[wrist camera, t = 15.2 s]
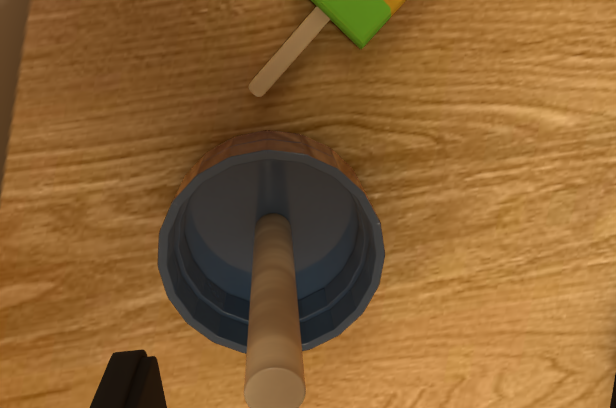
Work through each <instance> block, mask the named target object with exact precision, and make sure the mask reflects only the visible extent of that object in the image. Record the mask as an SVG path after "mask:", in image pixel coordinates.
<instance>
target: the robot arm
mask: <svg viewBox="0 0 616 408" xmlns="http://www.w3.org/2000/svg"><path fill="white" fill-rule="evenodd" d="M90 408H167V406H166V401H165V396H164V391H163V386H162V381H161V376H160V371H159V367H158V362H157V359H156V357H155V356H151V357H147V354H146V352H145V350H134V351H124V352H115V353H113V354H112V356H111V358H110V361H109V363H108V365H107V368H106V370H105V372H104V375H103V377H102V380H101V382H100V384H99V387H98V389H97V391H96V394H95V396H94V399H93V401H92V403H91V406H90ZM610 408H616V375H615V381H614V387H613V393H612V399H611V405H610Z"/></svg>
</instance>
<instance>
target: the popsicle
mask: <svg viewBox="0 0 616 408" xmlns="http://www.w3.org/2000/svg"><path fill="white" fill-rule="evenodd" d="M311 1H312V2H313V3H314V4H315V5H316V7H315V8H314V10H313V11H312V12H311V13H310V14H309V15H308V16H307V18H306V19H305V20H304V21H303V22H302V23H301V25H300V26H299V27H298V28H297V29H296V30H295V31H294V33H293V34H292V35H291V36H290V37H289V38H288V39H287V41H286V42H285V43H284V44H283V45H282V46H281V48H280V49H279V50H278V51H277V52H276V53H275V54H274V56H273V57H272V58H271V59H270V60H269V61H268V62H267V64H266V65H265V66H264V67H263V68H262V69H261V71H260V72H259V73H258V74H257V75H256V76H255V77H254V79H253V80H252V81H251V82H250V84H249V90H250V92H251V93H252V94H253V95H255V96H257V97H261V96H263V95H264V94H265V93H266V92H267V90H268V89H269V88H270V87H271V86H272V85H273V84H274V83H275V81H276V80H277V79H278V78H279V77H280V76H281V75H282V73H283V72H284V71H285V70H286V69H287V68H288V67H289V66H290V64H291V63H292V62H293V61H294V60H295V59H296V58H297V56H298V55H299V54H300V53H301V52H302V51H303V50H304V49H305V47H306V46H307V45H308V44H309V43H310V42H311V41H312V39H313V38H314V37H315V36H316V35H317V34H318V33H319V32H320V30H321V29H322V28H323V27H324V26H325V25H326V24H327V22H328V21H329V20H331V21H332V22H333V23H334V24H335V25H336V26H337V27H338V28H339V29H340V30H341V31H342V32H343V33H344V34H345V35H346V36H347V37H348V38H349V39H350V40H351V41H352V42H354V43H355V44H356V45H357V46H358V47H359V48H360V49H362V48H363V47H364V46H365V45H366V44H367V43H368V42H369V41H370V40H371V39H372V37H373V36H374V35H375V34H376V33H377V32H378V31H379V30H380V29H381V28H382V26H383V25H384V24H385V23H386V22H387V21H388V20H389V19H390V18H391V17H392V15H393V14H394V13H395V12H396V11H397V10H398V9H399V8H400V7H401V6H402V5H403V3H404V2H405V1H406V0H311Z"/></svg>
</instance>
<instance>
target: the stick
mask: <svg viewBox="0 0 616 408" xmlns="http://www.w3.org/2000/svg"><path fill="white" fill-rule="evenodd" d="M305 393H306V389H305V378H304V367H303V355H302V344H301V333H300V322H299V311H298V300H297V289H296V278H295V267H294V256H293V245H292V234H291V226H290V223H289V222H288V220H287V219H286V218H285V217H283V216H282V215H279V214H274V213H273V214H267V215H264V216H263V217H261V218H260V219H259V220H258V222H257V223H256V226H255V236H254V251H253V265H252V280H251V295H250V310H249V325H248V339H247V354H246V369H245V384H244V397H245V401H246V403H247V404H248V406H249V407H250V408H299V407H300V405H301V404H302V402H303V400H304V398H305Z"/></svg>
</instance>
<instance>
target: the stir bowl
mask: <svg viewBox="0 0 616 408" xmlns="http://www.w3.org/2000/svg"><path fill="white" fill-rule="evenodd" d="M273 213H274V214H279V215H282V216H283V217H285V218H286V219H287V220H288V222H289V223H290V226H291V234H292V245H293V256H294V267H295V278H296V289H297V300H298V311H299V322H300V333H301V344H302V351H305V350H310V349H312V348H314V347H316V346H318V345H320V344H322V343H324V342H326V341H328V340H330V339H332V338H334V337H336V336H338V335H339V334H341V333H342V332H343V331H344V330H345V329H346V328H348V327H349V326H350V325H351V324H352V323H353V322H354V321H355V320H356V319H357V318H358V317H359V316H361V315H362V314H363V312H364V311H365V309H366V307H367V306H368V304H369V302H370V300H371V299H372V297H373V295H374V293H375V292H376V290H377V288H378V286H379V284H380V278H381V273H382V268H383V263H384V258H385V249H384V242H383V236H382V229H381V223H380V220H379V218H378V216H377V214H376V212H375V210H374V208H373V206H372V204H371V202H370V200H369V198H368V196H367V194H366V192H365V190H364V188H363V187H362V185H361V183H360V181H359V179H358V177H357V175H356V174H355V172H354V170H353V169H352V167H351V166H350V165H348V164H347V163H346V162H345V161H344V160H343V159H342V158H341V157H340V156H339V155H338V154H337V153H336V152H334V151H333V150H332V149H331V148H329V147H328V146H326V145H324V144H321V143H319V142H317V141H315V140H313V139H310V138H308V137H306V136H304V135H300V134H296V133H288V132H279V131H271V130H268V131H267V130H265V131H260V132H255V133H250V134H245V135H240V136H236V137H233V138H231V139H229V140H227V141H225V142H224V143H222V144H220V145H218V146H217V147H215V148H213V149H211V150H209V151H208V152H207V153H205V154H204V155H203V156H202V157H201V158H200V159H199V161H198V162H197V163H196V164H195V165H194V166H193V167H192V168H191V169H190V170H189V172H188V173H187V174H186V175H185V177H184V178H183V181H182V183H181V185H180V187H179V189H178V191H177V193H176V195H175V197H174V199H173V201H172V203H171V206H170V208H169V210H168V213H167V215H166V217H165V220H164V222H163V225H162V227H161V229H160V233H159V245H158V269H159V272H160V275H161V278H162V281H163V285H164V288H165V291H166V294H167V296H168V298H169V300H170V301H171V302H172V304H173V305H174V306H175V308H176V309H177V311H178V312H179V313H180V315H181V316H182V317H183V319H184V320H185V321H186V322H187V324H189V325H190V326H191V327H193V328H194V329H196V330H197V331H198V332H200V333H201V334H202V335H204V336H205V337H207V338H208V339H209V340H211V341H212V342H214V343H217V344H219V345H222V346H225V347H228V348H230V349H233V350H236V351H239V352H242V353H245V354H247V339H248V325H249V310H250V295H251V280H252V265H253V251H254V236H255V226H256V223H257V222H258V220H259V219H260V218H261V217H263V216H264V215H267V214H273Z"/></svg>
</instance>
